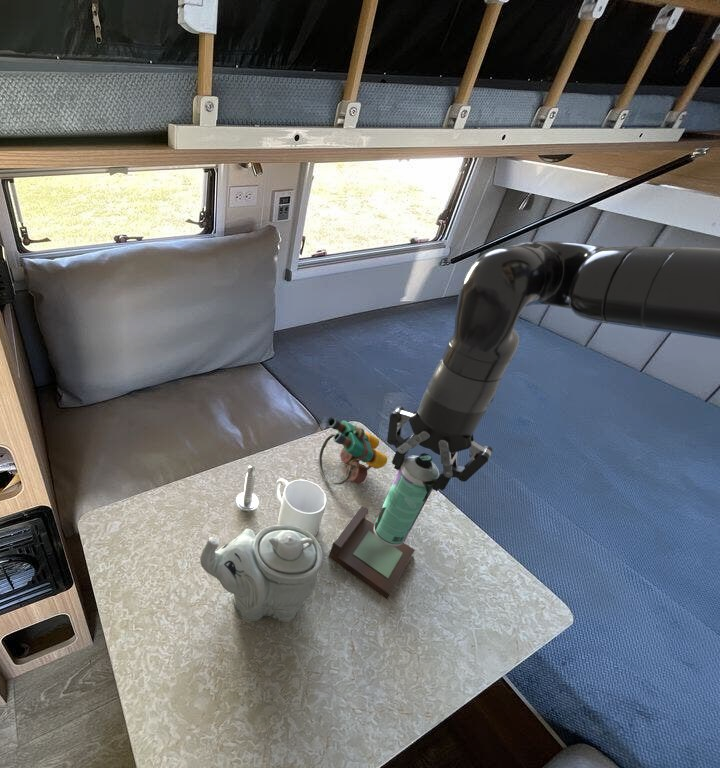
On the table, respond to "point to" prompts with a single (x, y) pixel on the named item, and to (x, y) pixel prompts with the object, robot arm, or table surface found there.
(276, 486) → the cup
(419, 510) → the spray can
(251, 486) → the screw
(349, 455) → the binoculars
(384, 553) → the brown wooden square frame
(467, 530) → the table surface
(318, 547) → the teapot
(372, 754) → the table surface
